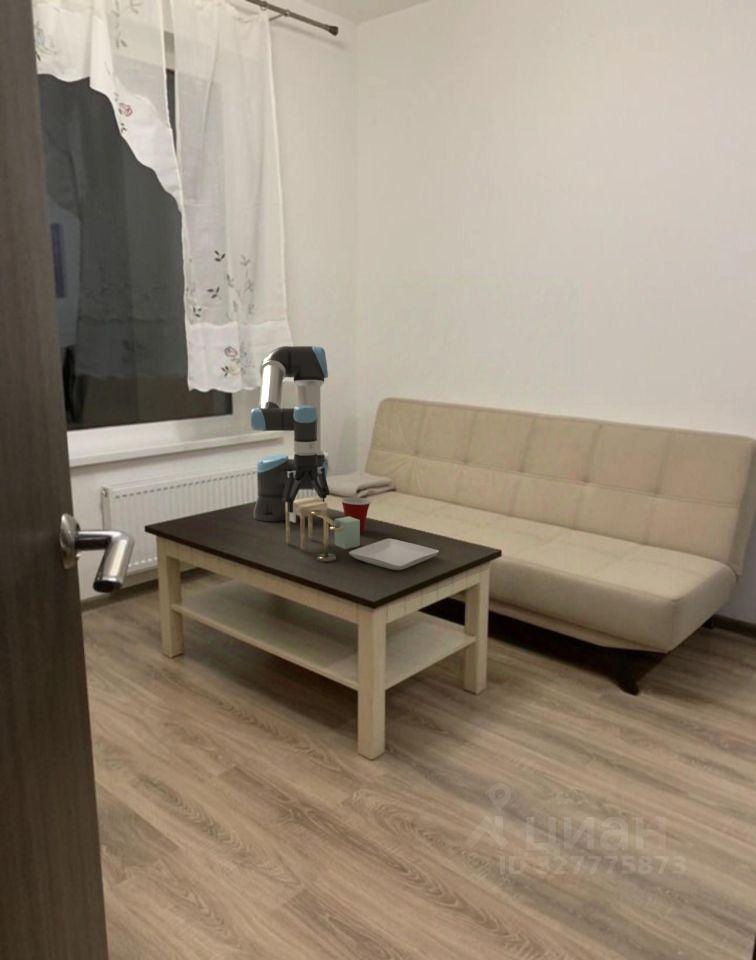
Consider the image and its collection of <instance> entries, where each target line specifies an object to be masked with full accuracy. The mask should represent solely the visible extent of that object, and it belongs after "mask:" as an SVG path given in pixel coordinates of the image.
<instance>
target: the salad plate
mask: <svg viewBox="0 0 756 960" xmlns="http://www.w3.org/2000/svg"><path fill="white" fill-rule="evenodd" d="M439 552H440V550H438V549H434V548H431V547H427V546H423V545H420V544H416V543H413V542H412V543H411V542H407V541H403V540H399V539H393V538H386V539H382V540H379V541H376V542H373V543H370V544H367V545H364V546H362V547H359V548H356V549H353V550H350V551H349V552H348V553H349V555H350V556H351V557H352V558H353V559H356V560H358V561H362V562H364V563H367V564H371V565H374V566H378V567H382V568H385V569H388V570H392V571H393V570H394V571H402V570H405V569H408V568H410V567H413V566H415V565H417V564H419V563H422V562H424V561H428V560H430V559H432V558H434V557H435V556H437V555H438V553H439Z"/></svg>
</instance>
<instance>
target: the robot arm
mask: <svg viewBox="0 0 756 960" xmlns="http://www.w3.org/2000/svg"><path fill="white" fill-rule="evenodd" d="M259 375H260V377H261V382H260V391H259V397H258V399H259V400H258V407H257V408H255V407H254V408H252V409H251V411H250V426H251V430H253V431H262V432H268V431H269V432H275V431H278V432H280V431H283V432H287V431H288V432H292V431H293V436H294V438H293V445H294V446H293V452H294V454H293V458H292V459H290V458H289V456H288V454H274V455H269V456H265V457H262V458H260V459H259V460H258V461H257V465H256V466H257V469H256V473H257V476H256V477H257V499H256V502H255V505H254V508H253V518H254V519H255V520H258V521H262V522H282V521H286V505H285V502H287V507H288V512H289V513H290V523H297V514H296V503H294V500H296V497H297V496H298V493H299V491H314V490H315V492H316V494H317V496H316V498H315V499H317V500H320V501H323V502H325V499H326V498H327V496H329V495H330V494H331V493H330V489H329V485H328V481H327V475H328V466H329V459H328V458H325V457H326V455H325V453H324V452H323V451H322V448H321V447H322V445H321V444H322V443H321V442H322V441H321V438H322V437H321V432H322V431H321V427H322V426H321V387H322V386H323V384H325V379H327V378H328V377H329V371H328V364H327V358H326V350H325V349H324V348H323V347H321V346H313V345H311V346H309V345H307V346H306V345H302V346H299V345H298V346H294V345H293V346H289V345H285V346H279V347H277V348H275V349H273V350H271V351H270V352H269V353H268V354H266V355H265V357H264V358H263V359H262V361H261V363H260V367H259ZM285 378H293V383H294V385H296V387H297V405H296V406H294V408H288V407H287V408H286V407H284V408H283V407H282V393H283V384H284V383H283V382H284V381H283V380H284V379H285ZM281 407H282V408H281ZM316 516H317V517H319V518H321V517H320V516H319V515H316Z"/></svg>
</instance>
